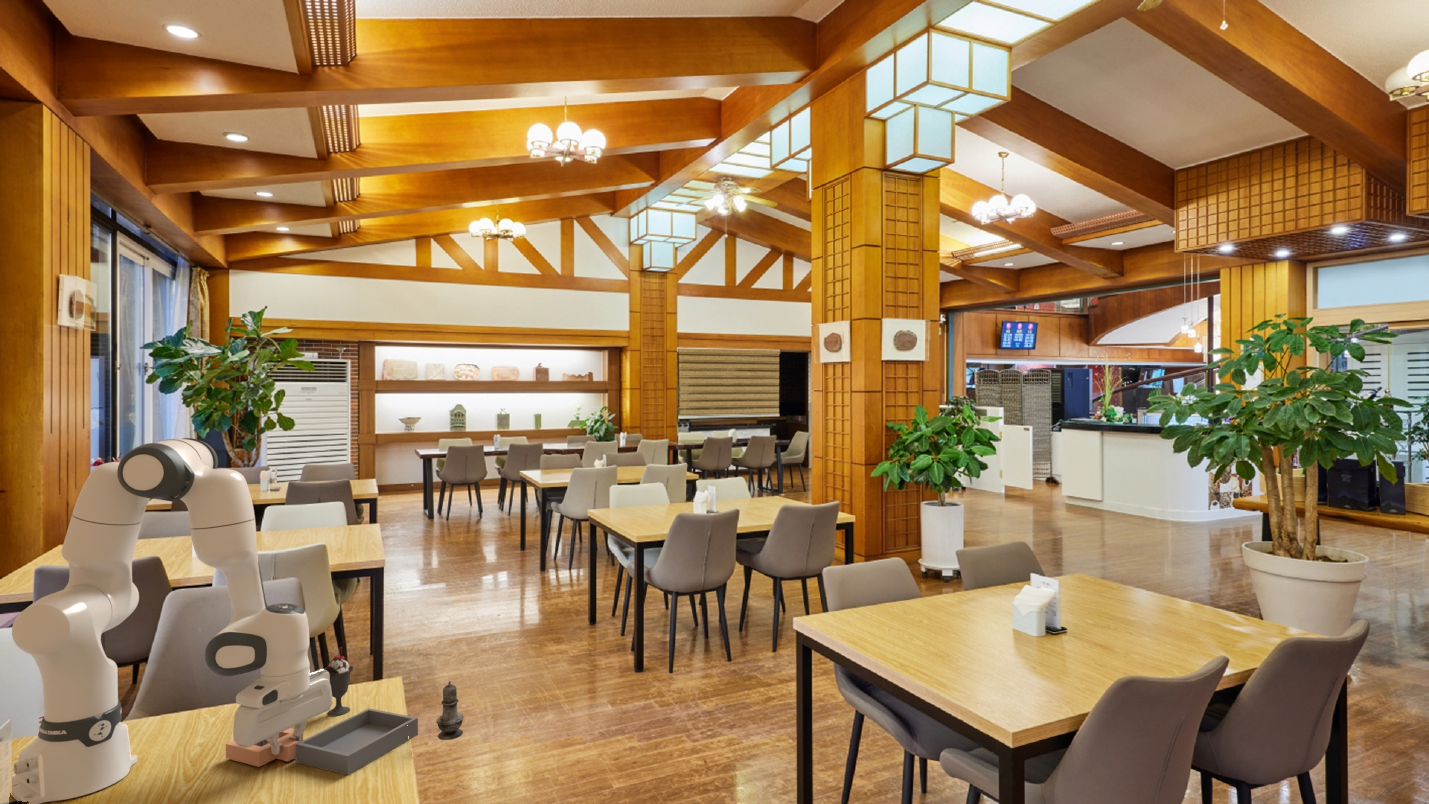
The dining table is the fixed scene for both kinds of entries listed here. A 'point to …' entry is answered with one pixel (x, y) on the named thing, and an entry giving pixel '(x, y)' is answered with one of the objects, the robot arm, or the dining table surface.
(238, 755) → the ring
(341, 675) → the sundae
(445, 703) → the salt shaker
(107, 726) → the robot arm
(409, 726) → the tray
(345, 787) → the dining table surface
